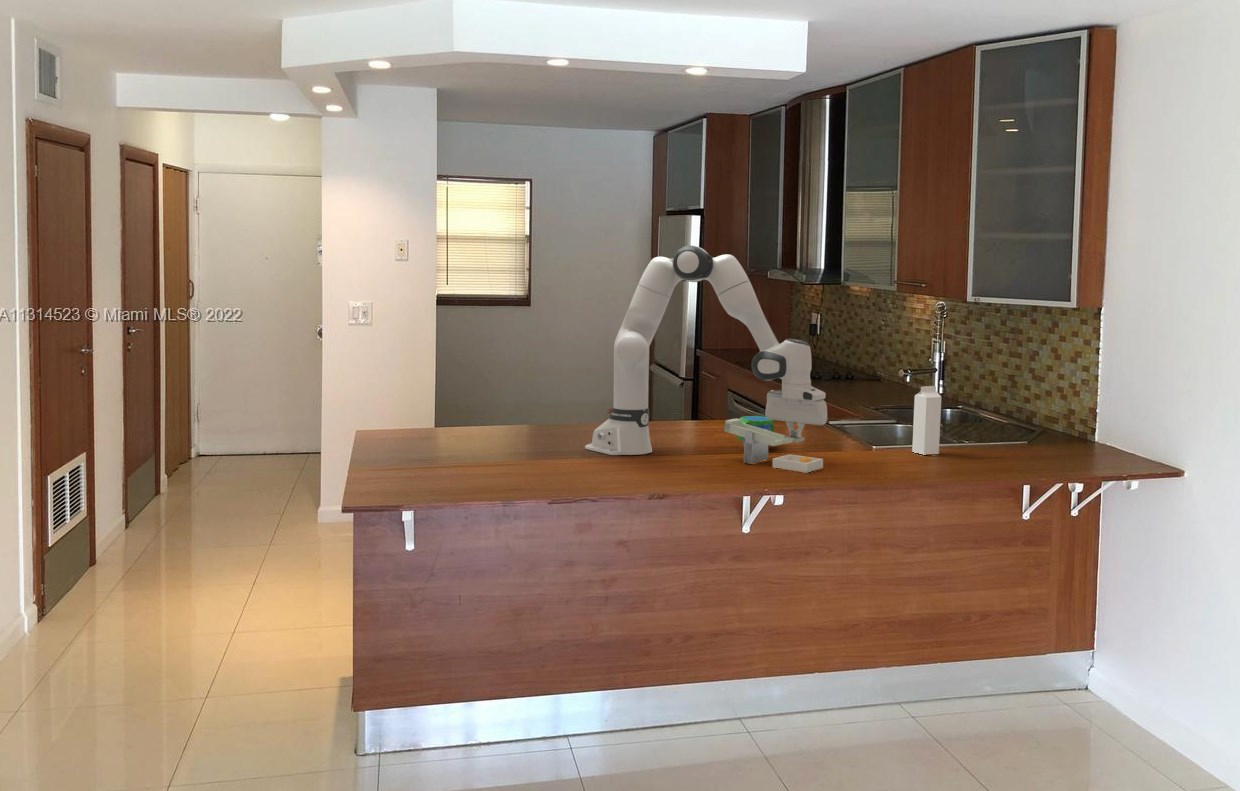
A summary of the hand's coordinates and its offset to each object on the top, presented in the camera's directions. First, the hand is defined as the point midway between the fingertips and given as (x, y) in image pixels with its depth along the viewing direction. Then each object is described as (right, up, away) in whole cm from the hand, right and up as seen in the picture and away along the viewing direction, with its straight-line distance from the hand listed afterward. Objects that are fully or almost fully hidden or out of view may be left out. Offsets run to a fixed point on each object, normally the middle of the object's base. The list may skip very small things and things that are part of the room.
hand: (795, 436), depth 339 cm
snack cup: (-10, -5, +22) cm, 24 cm away
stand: (-12, -8, -2) cm, 15 cm away
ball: (+1, -7, -13) cm, 15 cm away
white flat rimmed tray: (-1, -9, -11) cm, 15 cm away
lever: (-10, 0, +1) cm, 10 cm away
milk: (+44, -6, +15) cm, 47 cm away
